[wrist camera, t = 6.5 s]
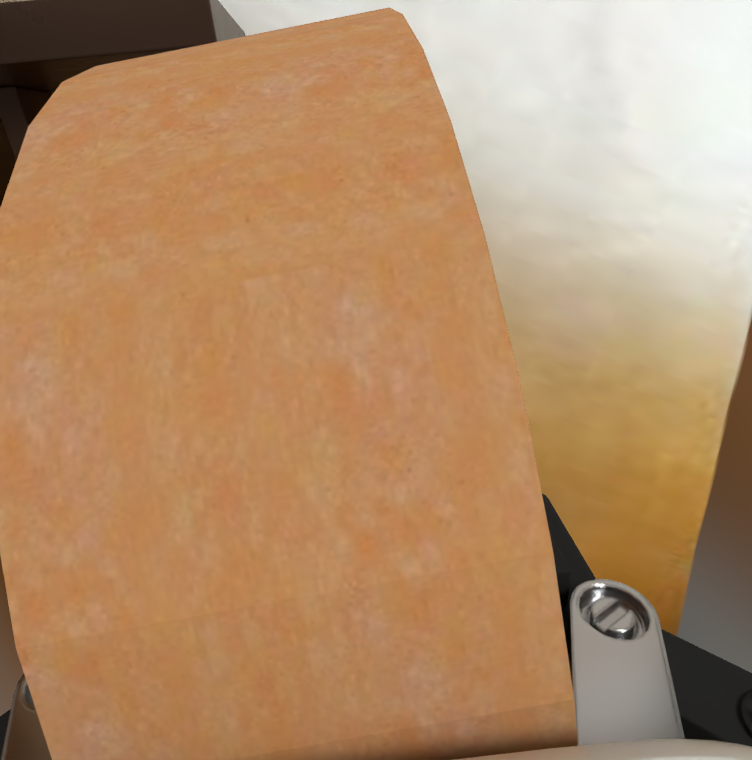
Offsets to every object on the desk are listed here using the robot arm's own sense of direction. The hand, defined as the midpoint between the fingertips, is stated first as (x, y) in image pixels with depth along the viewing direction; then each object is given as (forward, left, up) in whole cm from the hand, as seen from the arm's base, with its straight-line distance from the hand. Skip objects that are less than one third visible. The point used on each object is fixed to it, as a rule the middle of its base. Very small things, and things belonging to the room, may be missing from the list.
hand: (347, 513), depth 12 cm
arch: (0, 0, -4) cm, 4 cm away
